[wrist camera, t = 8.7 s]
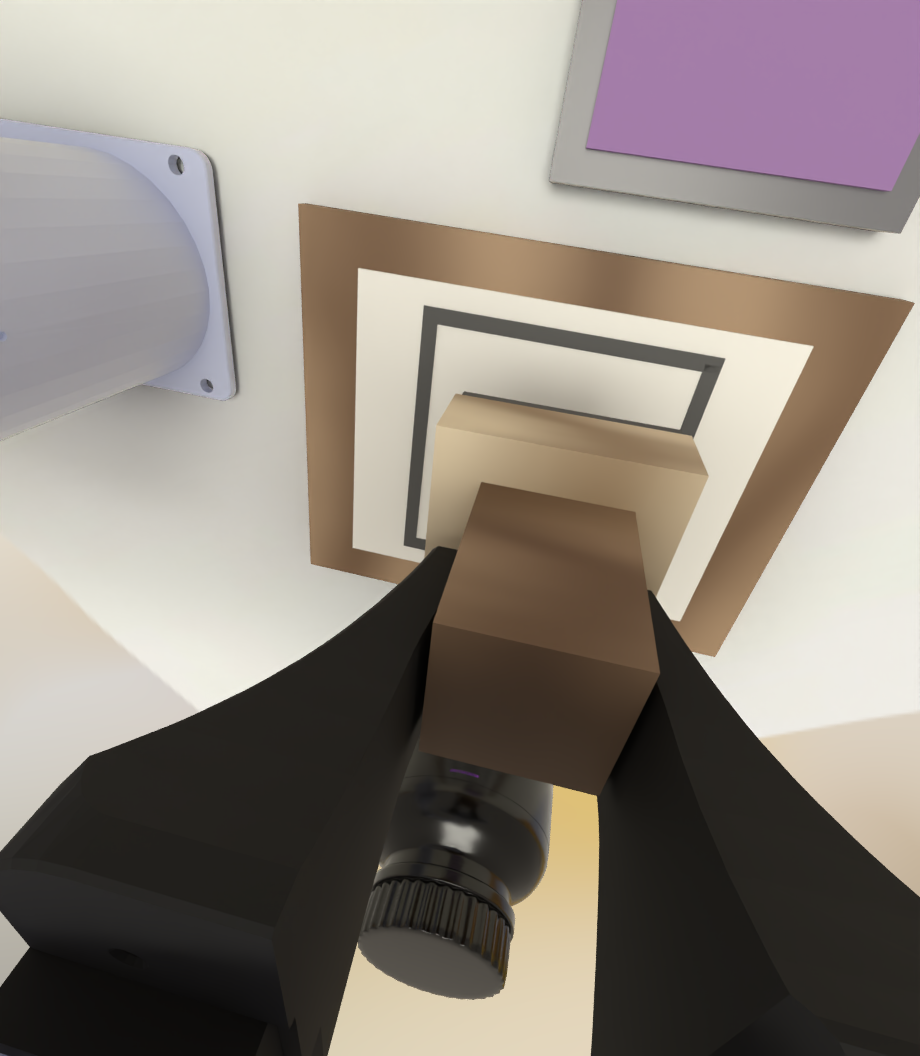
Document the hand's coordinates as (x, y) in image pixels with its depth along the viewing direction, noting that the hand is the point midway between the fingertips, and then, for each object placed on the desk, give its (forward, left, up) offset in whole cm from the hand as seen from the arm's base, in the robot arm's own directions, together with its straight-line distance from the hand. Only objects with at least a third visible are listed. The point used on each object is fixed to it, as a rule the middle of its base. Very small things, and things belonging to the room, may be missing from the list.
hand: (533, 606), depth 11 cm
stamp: (0, +1, -3) cm, 3 cm away
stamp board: (0, -1, -10) cm, 10 cm away
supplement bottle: (0, -13, -10) cm, 17 cm away
